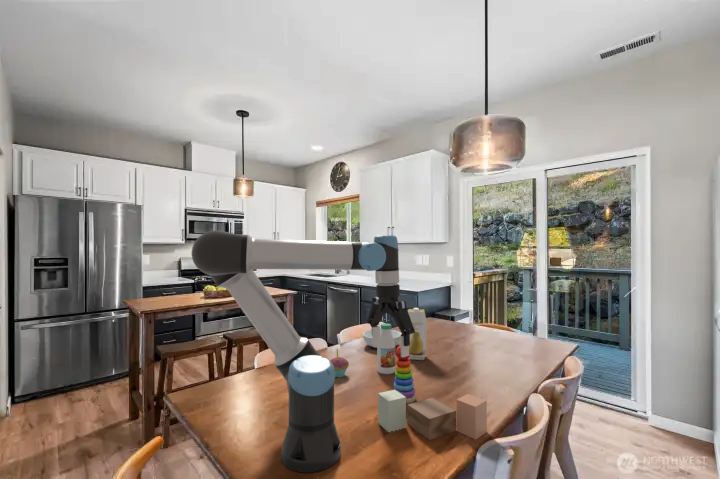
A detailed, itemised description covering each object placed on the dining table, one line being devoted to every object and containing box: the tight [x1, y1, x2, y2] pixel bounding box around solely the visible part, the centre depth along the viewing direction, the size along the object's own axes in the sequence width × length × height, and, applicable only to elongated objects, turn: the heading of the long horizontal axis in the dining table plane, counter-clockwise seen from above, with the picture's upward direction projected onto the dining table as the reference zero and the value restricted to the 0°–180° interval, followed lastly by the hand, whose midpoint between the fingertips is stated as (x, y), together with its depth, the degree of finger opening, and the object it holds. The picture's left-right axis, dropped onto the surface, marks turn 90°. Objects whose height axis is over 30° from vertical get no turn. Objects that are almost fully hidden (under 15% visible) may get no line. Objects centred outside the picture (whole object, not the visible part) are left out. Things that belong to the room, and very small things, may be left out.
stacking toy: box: [393, 345, 417, 405], centre depth 120 cm, size 8×8×19 cm
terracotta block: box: [456, 393, 488, 440], centre depth 99 cm, size 6×6×9 cm
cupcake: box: [329, 348, 350, 378], centre depth 143 cm, size 9×8×12 cm
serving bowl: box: [362, 328, 402, 349], centre depth 184 cm, size 21×21×7 cm
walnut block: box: [407, 397, 457, 441], centre depth 102 cm, size 10×10×6 cm
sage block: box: [377, 389, 407, 433], centre depth 103 cm, size 6×6×9 cm
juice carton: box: [407, 307, 427, 361], centre depth 165 cm, size 9×8×24 cm
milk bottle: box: [376, 323, 396, 375], centre depth 147 cm, size 8×8×20 cm
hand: (390, 351), depth 109 cm, fingers open, 13 cm apart
